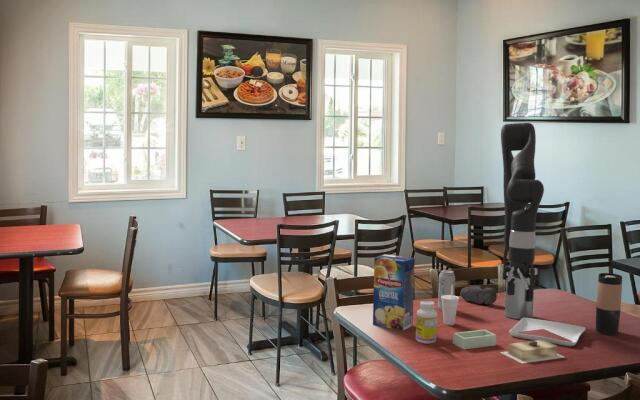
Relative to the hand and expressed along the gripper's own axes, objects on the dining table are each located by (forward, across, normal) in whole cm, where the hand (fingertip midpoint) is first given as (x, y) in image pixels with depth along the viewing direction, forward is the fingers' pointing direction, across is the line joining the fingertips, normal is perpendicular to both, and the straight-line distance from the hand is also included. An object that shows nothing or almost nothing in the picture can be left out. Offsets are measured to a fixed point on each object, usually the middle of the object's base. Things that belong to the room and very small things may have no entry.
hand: (519, 298), depth 195 cm
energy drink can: (+18, +51, -6) cm, 55 cm away
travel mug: (+18, +10, -46) cm, 50 cm away
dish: (+18, +10, +8) cm, 22 cm away
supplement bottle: (+18, +21, +20) cm, 34 cm away
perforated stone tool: (+17, +57, -24) cm, 64 cm away
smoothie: (+18, +35, +2) cm, 40 cm away
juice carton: (+18, +40, +22) cm, 49 cm away
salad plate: (+18, +12, -22) cm, 31 cm away
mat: (+18, -4, -3) cm, 19 cm away
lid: (+17, -4, -3) cm, 17 cm away
